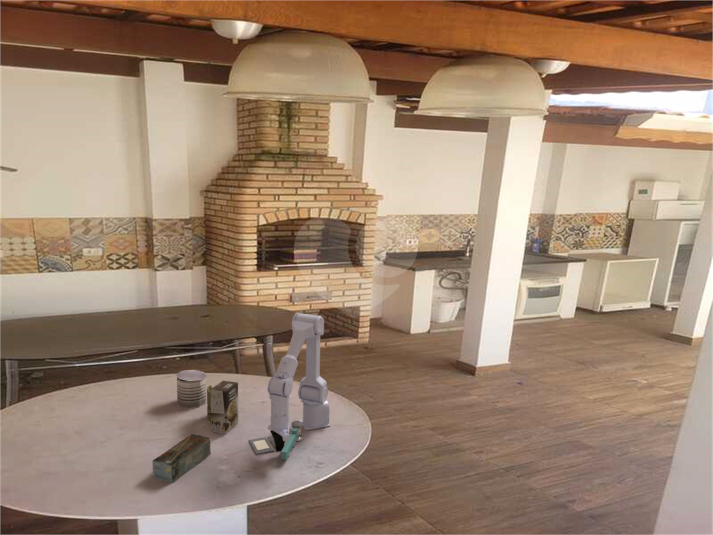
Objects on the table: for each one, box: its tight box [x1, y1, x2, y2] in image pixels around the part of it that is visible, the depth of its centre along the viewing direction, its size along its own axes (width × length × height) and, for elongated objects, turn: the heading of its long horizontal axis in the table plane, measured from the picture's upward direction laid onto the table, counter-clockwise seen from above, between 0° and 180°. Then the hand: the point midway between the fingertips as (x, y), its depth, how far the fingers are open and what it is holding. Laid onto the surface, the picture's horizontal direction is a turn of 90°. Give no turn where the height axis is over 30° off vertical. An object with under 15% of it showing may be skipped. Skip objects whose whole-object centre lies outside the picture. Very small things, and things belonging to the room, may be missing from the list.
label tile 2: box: [267, 435, 295, 449], centre depth 192 cm, size 6×10×1 cm, turn 25°
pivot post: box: [295, 427, 305, 443], centre depth 195 cm, size 5×5×4 cm
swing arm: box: [280, 420, 303, 460], centre depth 188 cm, size 19×4×4 cm, turn 172°
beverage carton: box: [151, 433, 212, 484], centre depth 175 cm, size 8×19×7 cm, turn 158°
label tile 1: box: [248, 436, 275, 456], centre depth 189 cm, size 6×10×1 cm, turn 25°
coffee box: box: [210, 380, 239, 435], centre depth 200 cm, size 9×6×16 cm
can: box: [175, 369, 208, 409], centre depth 220 cm, size 11×11×12 cm
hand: (279, 451), depth 183 cm, fingers closed
